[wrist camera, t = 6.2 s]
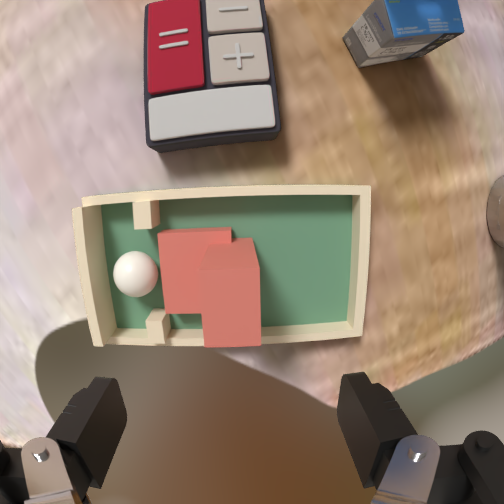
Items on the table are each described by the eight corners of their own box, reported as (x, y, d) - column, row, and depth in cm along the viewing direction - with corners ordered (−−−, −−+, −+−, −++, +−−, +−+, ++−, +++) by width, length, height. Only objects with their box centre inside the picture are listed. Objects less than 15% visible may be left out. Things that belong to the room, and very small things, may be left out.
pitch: (358, 185, 29) (380, 186, 24) (352, 323, 32) (369, 345, 27) (95, 195, 28) (71, 198, 23) (113, 330, 31) (95, 353, 26)
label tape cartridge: (356, 70, 26) (418, 19, 14) (340, 37, 25) (390, -26, 13) (422, 57, 26) (492, 19, 14) (407, 27, 25) (469, -20, 13)
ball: (134, 258, 23) (101, 255, 25) (140, 306, 24) (107, 299, 26) (164, 247, 27) (131, 245, 28) (169, 291, 28) (136, 286, 29)
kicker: (251, 226, 28) (259, 250, 18) (253, 302, 29) (261, 359, 19) (163, 229, 27) (125, 255, 18) (170, 304, 29) (142, 359, 19)
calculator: (262, -16, 21) (283, 130, 23) (259, 7, 25) (276, 140, 28) (142, -1, 21) (143, 146, 23) (153, 20, 25) (156, 153, 27)
